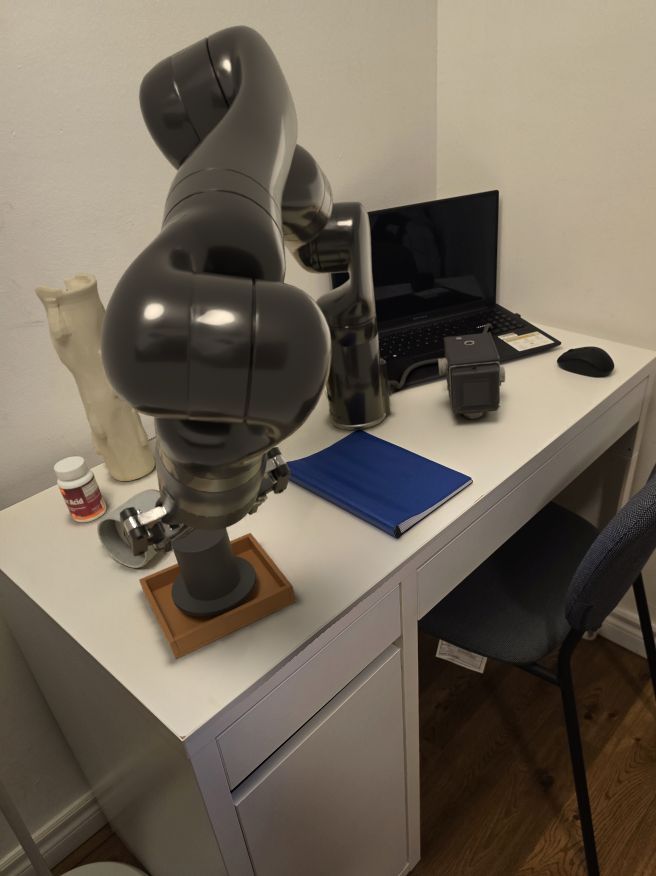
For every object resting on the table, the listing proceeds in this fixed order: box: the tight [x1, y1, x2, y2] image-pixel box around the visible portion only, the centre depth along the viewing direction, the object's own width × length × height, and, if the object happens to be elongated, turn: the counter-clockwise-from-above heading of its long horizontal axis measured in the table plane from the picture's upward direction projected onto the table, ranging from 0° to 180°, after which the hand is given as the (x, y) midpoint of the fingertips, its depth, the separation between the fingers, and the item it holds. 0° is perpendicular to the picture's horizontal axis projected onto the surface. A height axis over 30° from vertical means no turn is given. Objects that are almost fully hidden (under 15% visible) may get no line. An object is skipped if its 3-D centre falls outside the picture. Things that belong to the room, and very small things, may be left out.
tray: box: [138, 532, 297, 660], centre depth 76 cm, size 14×12×2 cm
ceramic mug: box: [96, 488, 183, 569], centre depth 84 cm, size 11×8×8 cm
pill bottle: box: [53, 455, 107, 523], centre depth 91 cm, size 5×5×8 cm
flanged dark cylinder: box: [171, 524, 257, 616], centre depth 73 cm, size 10×10×9 cm
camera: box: [437, 331, 506, 419], centre depth 105 cm, size 11×11×15 cm
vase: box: [34, 272, 156, 482], centre depth 94 cm, size 9×8×30 cm
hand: (206, 523), depth 62 cm, fingers open, 8 cm apart
